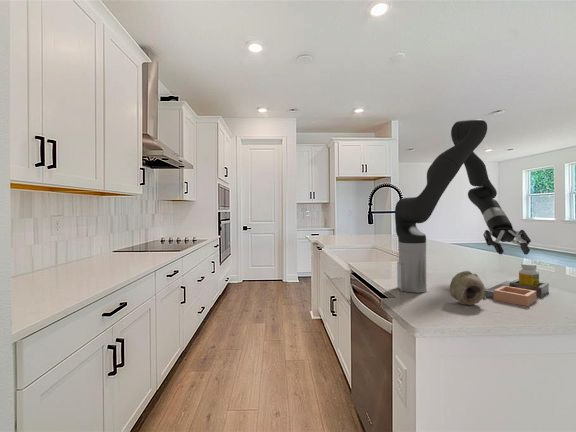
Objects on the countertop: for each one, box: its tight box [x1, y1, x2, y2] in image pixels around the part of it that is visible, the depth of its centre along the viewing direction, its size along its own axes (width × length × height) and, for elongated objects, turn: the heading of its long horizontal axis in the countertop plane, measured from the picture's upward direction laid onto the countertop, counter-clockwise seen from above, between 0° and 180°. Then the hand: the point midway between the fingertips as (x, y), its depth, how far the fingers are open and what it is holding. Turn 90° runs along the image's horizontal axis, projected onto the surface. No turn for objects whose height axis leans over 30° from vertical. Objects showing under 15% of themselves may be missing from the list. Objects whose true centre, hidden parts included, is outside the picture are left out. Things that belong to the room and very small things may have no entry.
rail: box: [484, 278, 550, 299], centre depth 98 cm, size 21×12×3 cm, turn 127°
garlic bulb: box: [449, 270, 487, 307], centre depth 90 cm, size 9×8×10 cm
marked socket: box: [493, 286, 537, 307], centre depth 92 cm, size 9×9×3 cm
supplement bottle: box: [518, 262, 540, 287], centre depth 101 cm, size 5×5×10 cm
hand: (514, 253), depth 108 cm, fingers open, 8 cm apart
